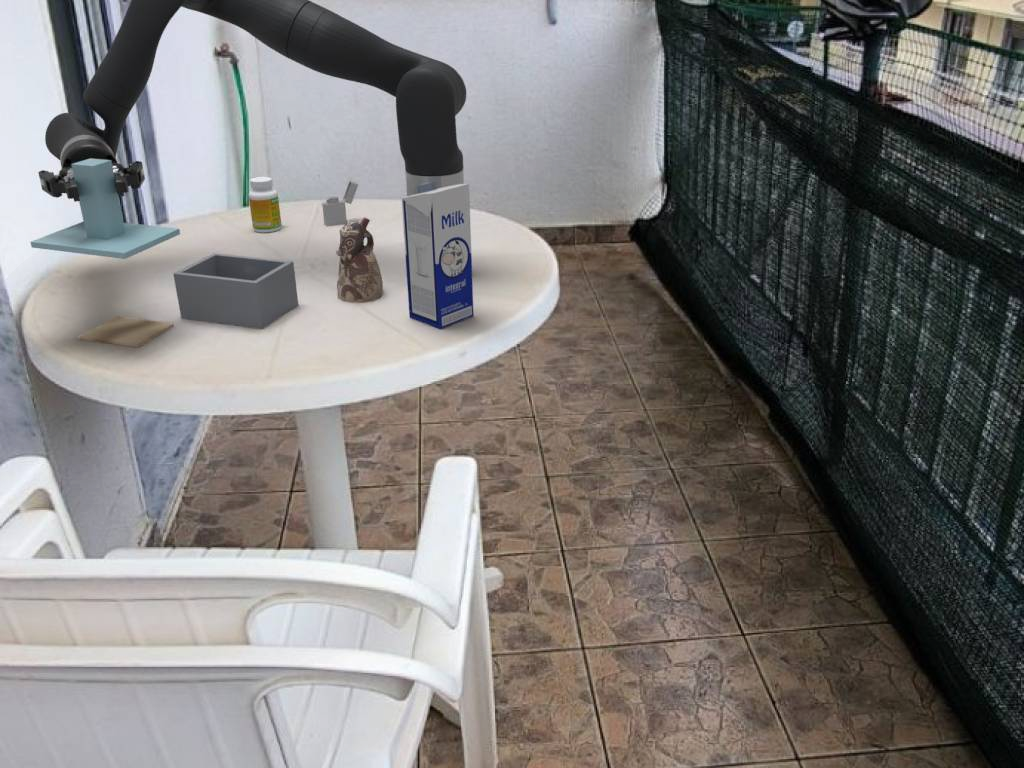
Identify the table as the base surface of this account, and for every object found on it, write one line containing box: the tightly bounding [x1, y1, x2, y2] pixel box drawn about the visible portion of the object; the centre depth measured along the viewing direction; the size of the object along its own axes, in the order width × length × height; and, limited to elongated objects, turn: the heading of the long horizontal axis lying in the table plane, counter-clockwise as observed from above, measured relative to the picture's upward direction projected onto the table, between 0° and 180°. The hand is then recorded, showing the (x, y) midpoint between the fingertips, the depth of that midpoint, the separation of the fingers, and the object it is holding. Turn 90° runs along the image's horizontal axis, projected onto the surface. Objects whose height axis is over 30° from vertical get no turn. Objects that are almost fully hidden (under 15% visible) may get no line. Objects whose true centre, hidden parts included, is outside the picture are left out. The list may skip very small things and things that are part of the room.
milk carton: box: [400, 181, 474, 330], centre depth 135 cm, size 7×7×20 cm
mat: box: [78, 315, 175, 348], centre depth 135 cm, size 10×8×1 cm
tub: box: [173, 252, 299, 330], centre depth 141 cm, size 14×10×7 cm
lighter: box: [321, 180, 359, 227], centre depth 183 cm, size 7×2×8 cm, turn 116°
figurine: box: [335, 217, 384, 303], centre depth 146 cm, size 7×7×12 cm
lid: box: [30, 158, 181, 260], centre depth 127 cm, size 15×11×11 cm
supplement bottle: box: [248, 176, 282, 234], centre depth 179 cm, size 5×5×10 cm
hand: (98, 191), depth 124 cm, fingers closed on lid, 5 cm apart
